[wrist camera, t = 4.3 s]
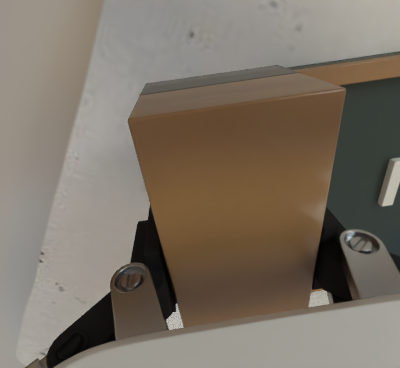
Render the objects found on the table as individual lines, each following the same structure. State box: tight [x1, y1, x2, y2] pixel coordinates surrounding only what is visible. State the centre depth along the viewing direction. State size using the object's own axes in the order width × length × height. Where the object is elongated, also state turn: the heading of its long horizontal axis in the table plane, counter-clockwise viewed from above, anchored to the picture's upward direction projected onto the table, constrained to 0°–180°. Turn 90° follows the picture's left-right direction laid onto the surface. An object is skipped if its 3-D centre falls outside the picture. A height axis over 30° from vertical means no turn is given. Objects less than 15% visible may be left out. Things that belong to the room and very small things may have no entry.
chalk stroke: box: [377, 157, 400, 206], centre depth 22 cm, size 4×1×1 cm, turn 7°
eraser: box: [128, 65, 346, 328], centre depth 11 cm, size 12×5×4 cm, turn 7°
